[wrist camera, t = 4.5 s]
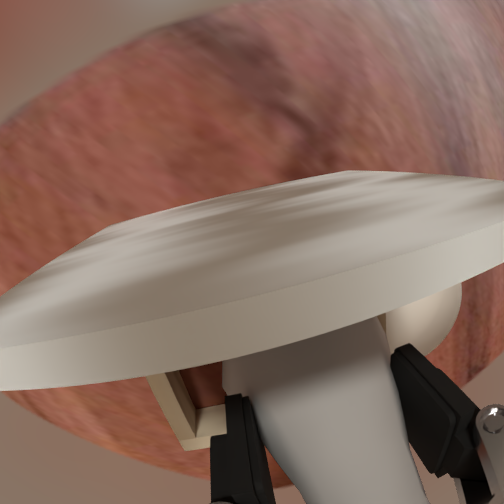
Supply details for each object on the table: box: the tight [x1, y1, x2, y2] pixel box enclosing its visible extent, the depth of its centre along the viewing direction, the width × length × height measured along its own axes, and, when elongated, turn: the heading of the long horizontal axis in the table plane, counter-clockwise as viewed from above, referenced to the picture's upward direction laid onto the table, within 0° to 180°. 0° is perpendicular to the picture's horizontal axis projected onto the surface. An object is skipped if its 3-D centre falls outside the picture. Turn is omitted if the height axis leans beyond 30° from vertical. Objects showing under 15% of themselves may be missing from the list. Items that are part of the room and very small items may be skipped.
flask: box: [222, 316, 430, 504], centre depth 8 cm, size 7×7×10 cm
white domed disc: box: [386, 283, 462, 356], centre depth 18 cm, size 7×7×1 cm
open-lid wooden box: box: [0, 171, 504, 451], centre depth 10 cm, size 12×13×12 cm
